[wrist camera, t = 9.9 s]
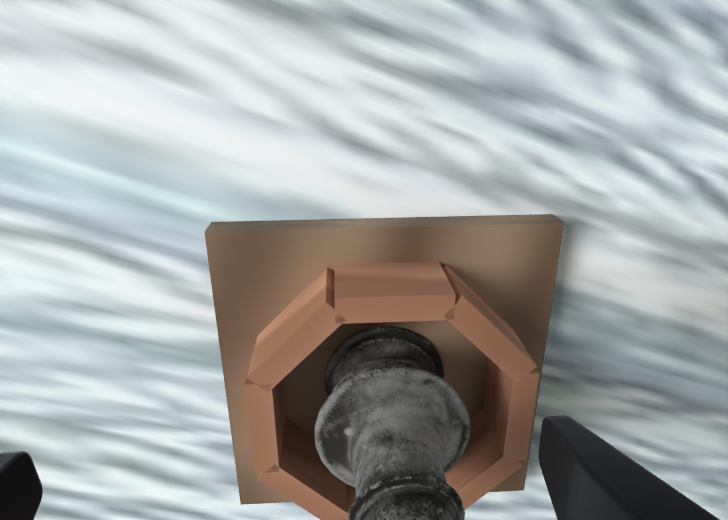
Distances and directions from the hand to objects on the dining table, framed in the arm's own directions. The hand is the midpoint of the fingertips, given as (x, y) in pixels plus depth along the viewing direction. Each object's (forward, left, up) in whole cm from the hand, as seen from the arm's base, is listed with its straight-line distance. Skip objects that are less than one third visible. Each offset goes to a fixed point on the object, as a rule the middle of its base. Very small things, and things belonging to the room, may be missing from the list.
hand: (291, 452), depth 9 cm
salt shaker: (-3, +7, -12) cm, 14 cm away
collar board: (-3, +7, -13) cm, 15 cm away
